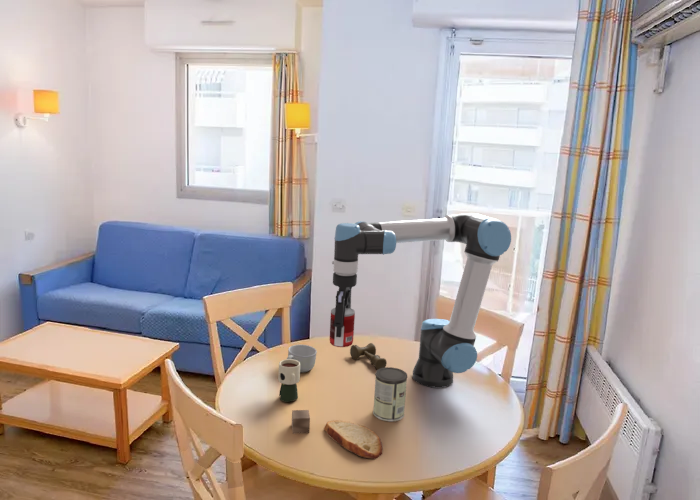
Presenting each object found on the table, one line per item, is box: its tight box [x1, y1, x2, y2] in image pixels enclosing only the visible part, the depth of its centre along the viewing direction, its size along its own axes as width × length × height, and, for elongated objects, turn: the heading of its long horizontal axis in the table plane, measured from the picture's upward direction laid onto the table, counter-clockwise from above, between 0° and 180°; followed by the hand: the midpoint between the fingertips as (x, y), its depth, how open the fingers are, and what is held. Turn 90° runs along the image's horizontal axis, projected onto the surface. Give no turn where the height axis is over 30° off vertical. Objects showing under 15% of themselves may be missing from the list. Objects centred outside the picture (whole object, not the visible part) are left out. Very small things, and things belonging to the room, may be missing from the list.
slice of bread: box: [323, 420, 383, 460], centre depth 165 cm, size 18×18×4 cm
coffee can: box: [372, 366, 408, 422], centre depth 180 cm, size 10×10×14 cm
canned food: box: [329, 307, 356, 348], centre depth 179 cm, size 8×8×11 cm
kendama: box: [349, 342, 388, 371], centre depth 222 cm, size 6×10×20 cm
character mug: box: [277, 358, 301, 403], centre depth 186 cm, size 11×7×13 cm, turn 22°
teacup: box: [286, 344, 318, 373], centre depth 210 cm, size 14×11×8 cm
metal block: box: [291, 409, 311, 434], centre depth 169 cm, size 5×5×5 cm
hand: (341, 340), depth 180 cm, fingers closed on canned food, 8 cm apart
